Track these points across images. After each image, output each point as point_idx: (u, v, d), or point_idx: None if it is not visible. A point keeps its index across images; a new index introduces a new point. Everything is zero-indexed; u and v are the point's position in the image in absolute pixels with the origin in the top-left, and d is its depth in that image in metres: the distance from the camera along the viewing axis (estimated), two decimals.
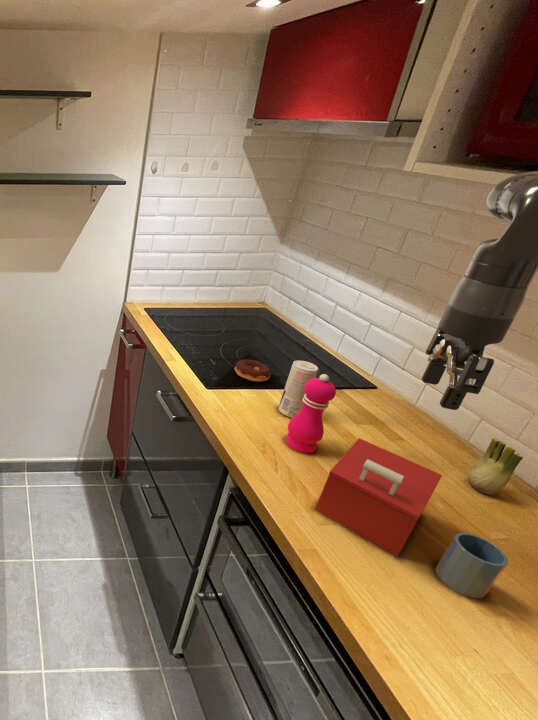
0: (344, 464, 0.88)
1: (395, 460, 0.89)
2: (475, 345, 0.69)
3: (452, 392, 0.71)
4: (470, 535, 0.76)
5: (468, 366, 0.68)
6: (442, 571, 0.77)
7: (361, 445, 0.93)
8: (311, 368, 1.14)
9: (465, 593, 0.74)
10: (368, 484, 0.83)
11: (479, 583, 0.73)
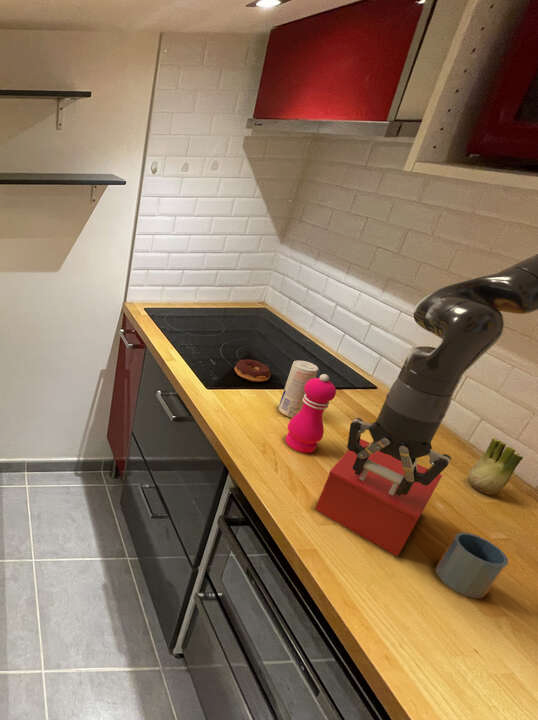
0: (344, 464, 0.88)
1: (395, 460, 0.89)
2: (430, 443, 0.74)
3: (408, 483, 0.78)
4: (470, 535, 0.76)
5: (440, 469, 0.73)
6: (442, 571, 0.77)
7: (361, 445, 0.93)
8: (311, 368, 1.14)
9: (465, 593, 0.74)
10: (368, 484, 0.83)
11: (479, 583, 0.73)
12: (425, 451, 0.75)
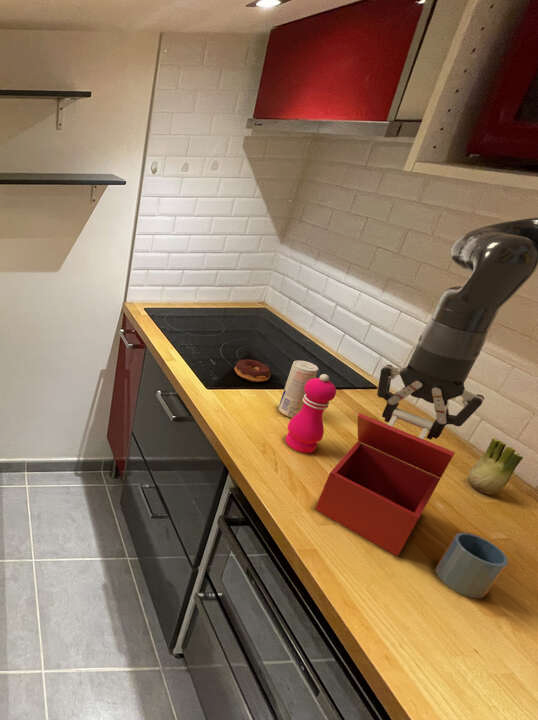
0: None
1: None
2: (463, 383, 0.75)
3: (440, 426, 0.78)
4: (470, 535, 0.76)
5: (474, 408, 0.74)
6: (442, 571, 0.77)
7: None
8: (311, 368, 1.14)
9: (465, 593, 0.74)
10: None
11: (479, 583, 0.73)
12: (458, 391, 0.75)
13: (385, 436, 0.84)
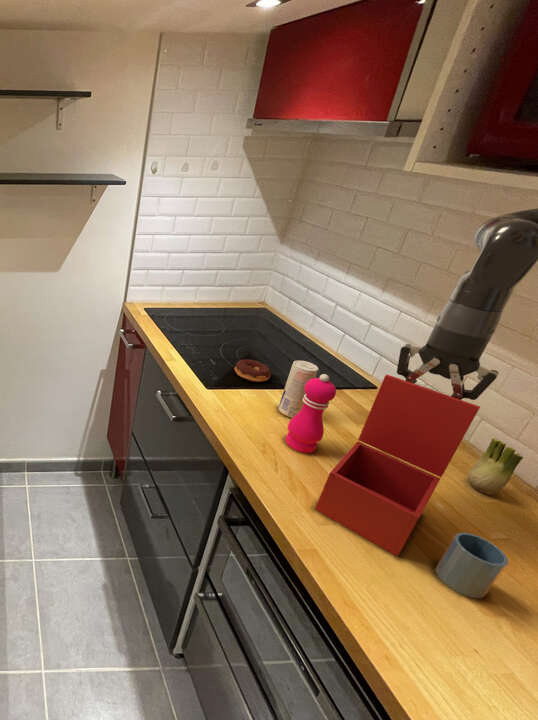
0: None
1: None
2: None
3: None
4: (470, 535, 0.76)
5: (489, 382, 0.80)
6: (442, 571, 0.77)
7: None
8: (311, 368, 1.14)
9: (465, 593, 0.74)
10: None
11: (479, 583, 0.73)
12: (474, 367, 0.81)
13: (404, 406, 0.87)
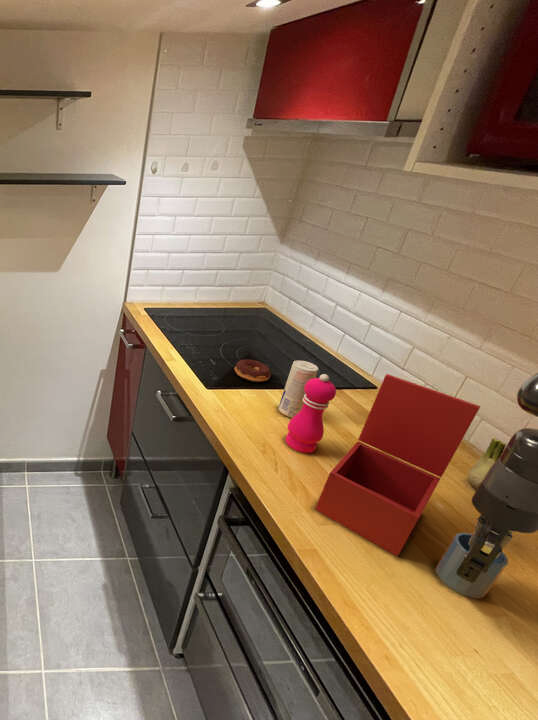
0: None
1: None
2: None
3: None
4: (470, 535, 0.76)
5: None
6: (442, 571, 0.77)
7: None
8: (311, 368, 1.14)
9: (465, 593, 0.74)
10: None
11: (479, 583, 0.73)
12: None
13: (404, 406, 0.87)
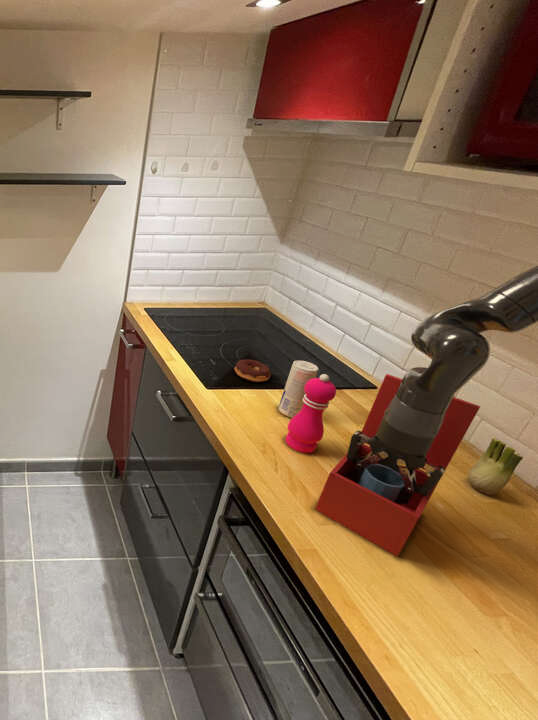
0: None
1: None
2: (425, 456, 0.80)
3: (408, 493, 0.83)
4: None
5: (436, 480, 0.79)
6: None
7: None
8: (311, 368, 1.14)
9: None
10: None
11: None
12: (421, 464, 0.81)
13: None
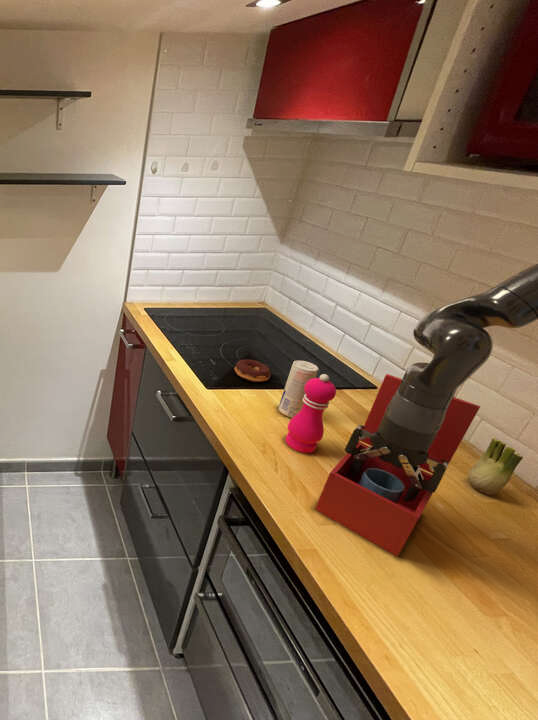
0: None
1: None
2: (427, 452, 0.80)
3: (415, 490, 0.82)
4: (400, 483, 0.86)
5: (440, 474, 0.79)
6: None
7: None
8: (311, 368, 1.14)
9: None
10: None
11: None
12: (422, 460, 0.80)
13: None
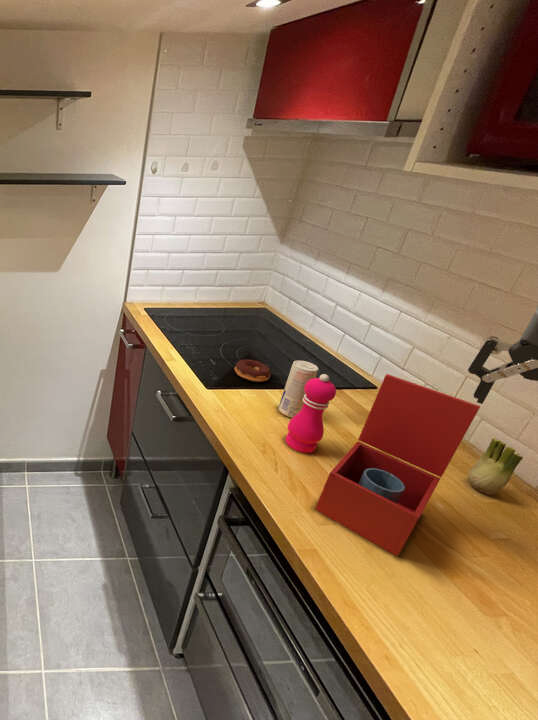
0: None
1: None
2: None
3: None
4: (400, 483, 0.86)
5: None
6: None
7: None
8: (311, 368, 1.14)
9: None
10: None
11: None
12: None
13: (404, 406, 0.87)
